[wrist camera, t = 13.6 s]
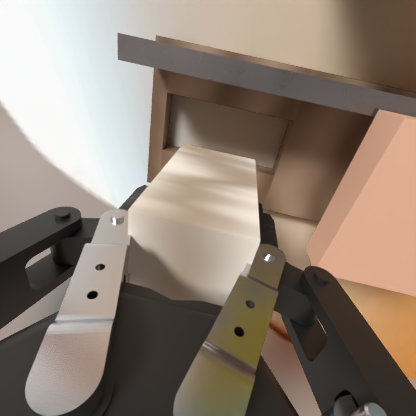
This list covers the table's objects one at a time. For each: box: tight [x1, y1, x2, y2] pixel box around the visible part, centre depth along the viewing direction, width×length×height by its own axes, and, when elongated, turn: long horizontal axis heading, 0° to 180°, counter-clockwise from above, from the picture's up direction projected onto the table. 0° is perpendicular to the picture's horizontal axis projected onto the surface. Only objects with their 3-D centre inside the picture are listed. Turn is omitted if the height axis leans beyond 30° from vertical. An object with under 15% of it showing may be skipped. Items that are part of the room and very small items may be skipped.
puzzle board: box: [118, 33, 416, 222], centre depth 23 cm, size 28×15×10 cm, turn 79°
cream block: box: [128, 144, 260, 306], centre depth 13 cm, size 4×4×8 cm
